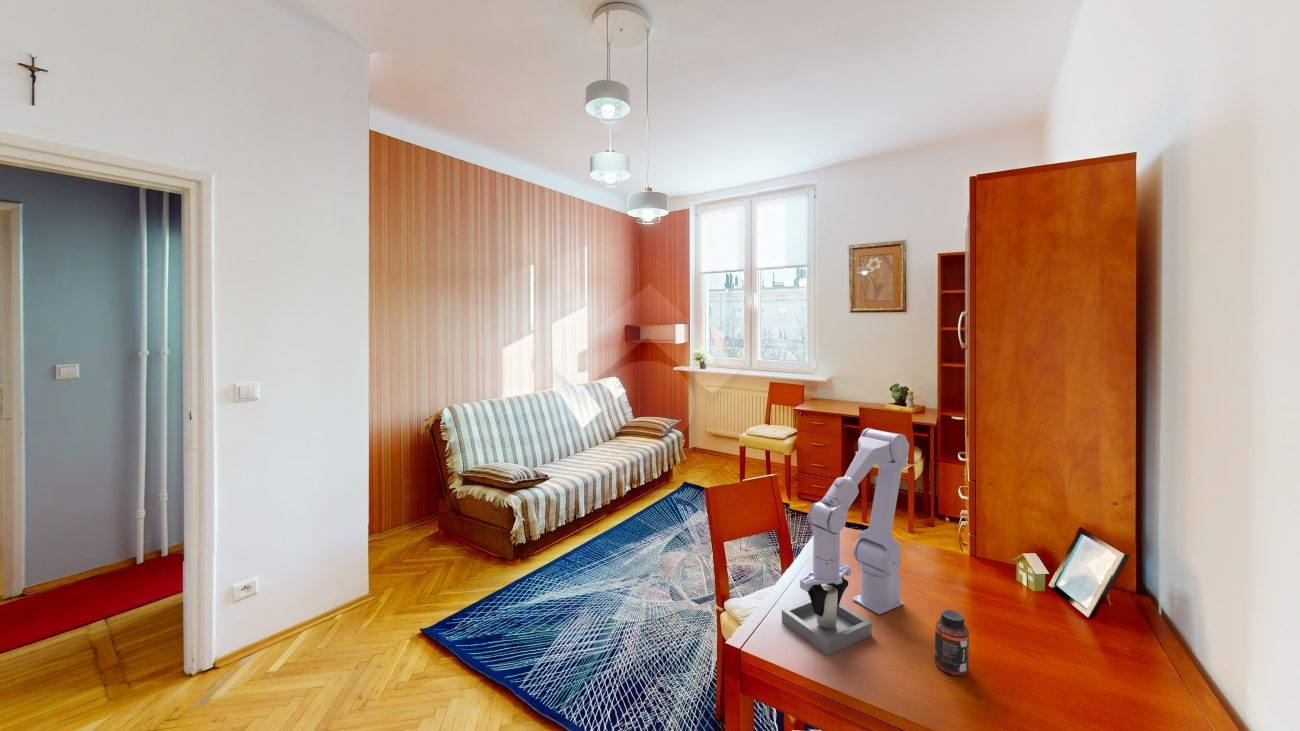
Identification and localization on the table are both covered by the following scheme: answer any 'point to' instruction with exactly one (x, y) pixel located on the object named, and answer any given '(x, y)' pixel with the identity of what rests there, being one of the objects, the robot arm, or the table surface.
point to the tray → (823, 638)
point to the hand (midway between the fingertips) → (825, 611)
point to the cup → (829, 608)
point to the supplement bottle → (951, 643)
